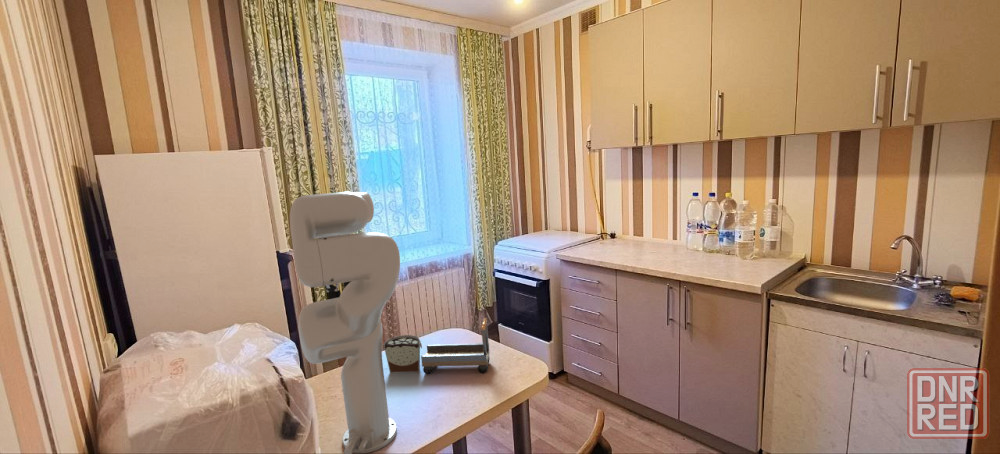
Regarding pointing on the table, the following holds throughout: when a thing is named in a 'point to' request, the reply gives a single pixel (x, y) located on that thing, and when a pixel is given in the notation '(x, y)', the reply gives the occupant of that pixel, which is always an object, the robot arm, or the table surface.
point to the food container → (403, 354)
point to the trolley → (458, 354)
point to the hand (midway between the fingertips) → (343, 298)
